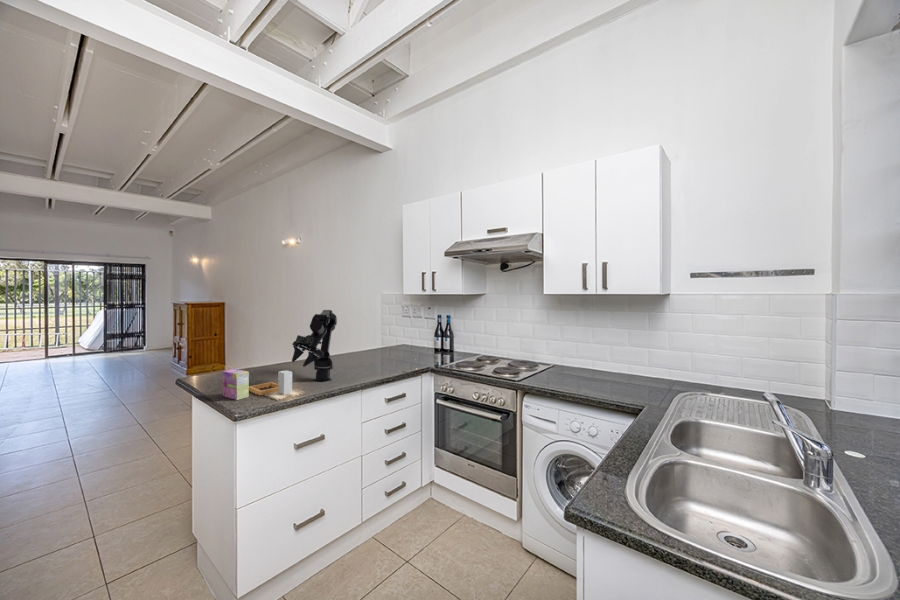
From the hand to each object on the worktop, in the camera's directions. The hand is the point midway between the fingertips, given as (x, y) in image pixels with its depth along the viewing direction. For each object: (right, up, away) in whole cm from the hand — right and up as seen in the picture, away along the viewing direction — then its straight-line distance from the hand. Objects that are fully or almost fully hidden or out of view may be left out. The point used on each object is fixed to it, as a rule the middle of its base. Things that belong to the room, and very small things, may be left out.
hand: (297, 364), depth 178 cm
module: (-3, -12, -7) cm, 15 cm away
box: (-23, -13, -13) cm, 29 cm away
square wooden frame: (-15, -13, -2) cm, 19 cm away
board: (-3, -13, -7) cm, 15 cm away
